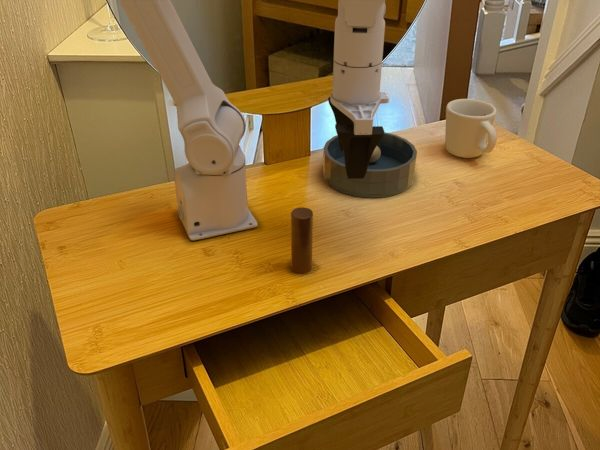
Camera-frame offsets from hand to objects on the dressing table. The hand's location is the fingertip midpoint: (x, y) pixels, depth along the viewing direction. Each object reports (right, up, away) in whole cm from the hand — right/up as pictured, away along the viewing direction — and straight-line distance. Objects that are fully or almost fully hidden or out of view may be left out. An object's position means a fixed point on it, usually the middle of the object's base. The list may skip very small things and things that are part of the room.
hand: (351, 163), depth 81 cm
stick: (-6, -13, -3) cm, 15 cm away
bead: (+5, +4, +19) cm, 20 cm away
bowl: (+4, 0, +18) cm, 18 cm away
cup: (+22, +4, +24) cm, 32 cm away
